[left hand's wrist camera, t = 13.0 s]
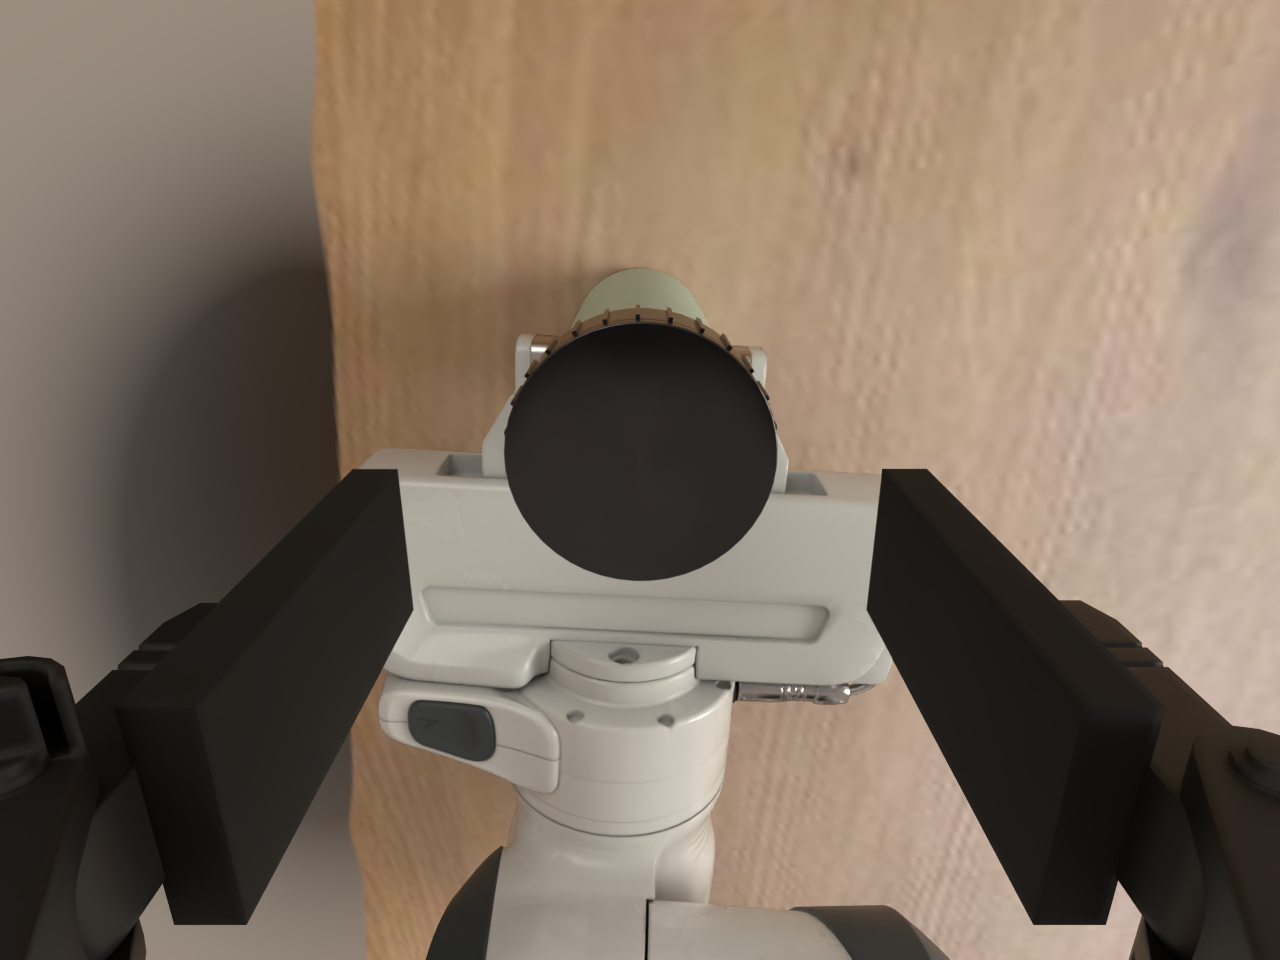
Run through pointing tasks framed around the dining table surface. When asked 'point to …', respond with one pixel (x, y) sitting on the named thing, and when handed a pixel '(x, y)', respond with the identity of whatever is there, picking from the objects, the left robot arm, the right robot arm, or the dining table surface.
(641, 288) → the jar
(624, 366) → the lid
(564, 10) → the dining table surface
